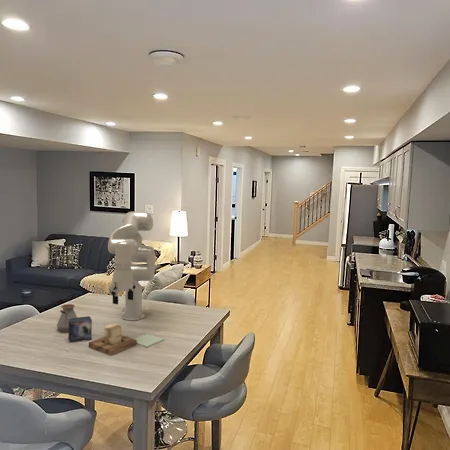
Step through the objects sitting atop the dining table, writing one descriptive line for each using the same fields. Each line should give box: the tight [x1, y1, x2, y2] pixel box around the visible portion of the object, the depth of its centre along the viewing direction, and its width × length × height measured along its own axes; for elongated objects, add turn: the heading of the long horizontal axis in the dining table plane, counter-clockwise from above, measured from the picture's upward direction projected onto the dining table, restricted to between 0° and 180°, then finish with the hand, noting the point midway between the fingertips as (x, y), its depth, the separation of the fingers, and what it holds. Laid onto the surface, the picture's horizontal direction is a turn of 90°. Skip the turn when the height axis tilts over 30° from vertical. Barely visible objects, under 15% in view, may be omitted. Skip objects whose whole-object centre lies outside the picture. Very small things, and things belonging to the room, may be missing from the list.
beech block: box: [104, 323, 122, 346], centre depth 199 cm, size 6×6×10 cm
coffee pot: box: [56, 303, 78, 333], centre depth 215 cm, size 21×12×15 cm, turn 7°
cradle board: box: [88, 334, 138, 357], centre depth 200 cm, size 16×16×2 cm
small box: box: [67, 315, 93, 343], centre depth 207 cm, size 11×6×10 cm, turn 117°
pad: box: [134, 333, 165, 348], centre depth 208 cm, size 12×12×1 cm
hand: (123, 301), depth 199 cm, fingers open, 9 cm apart
